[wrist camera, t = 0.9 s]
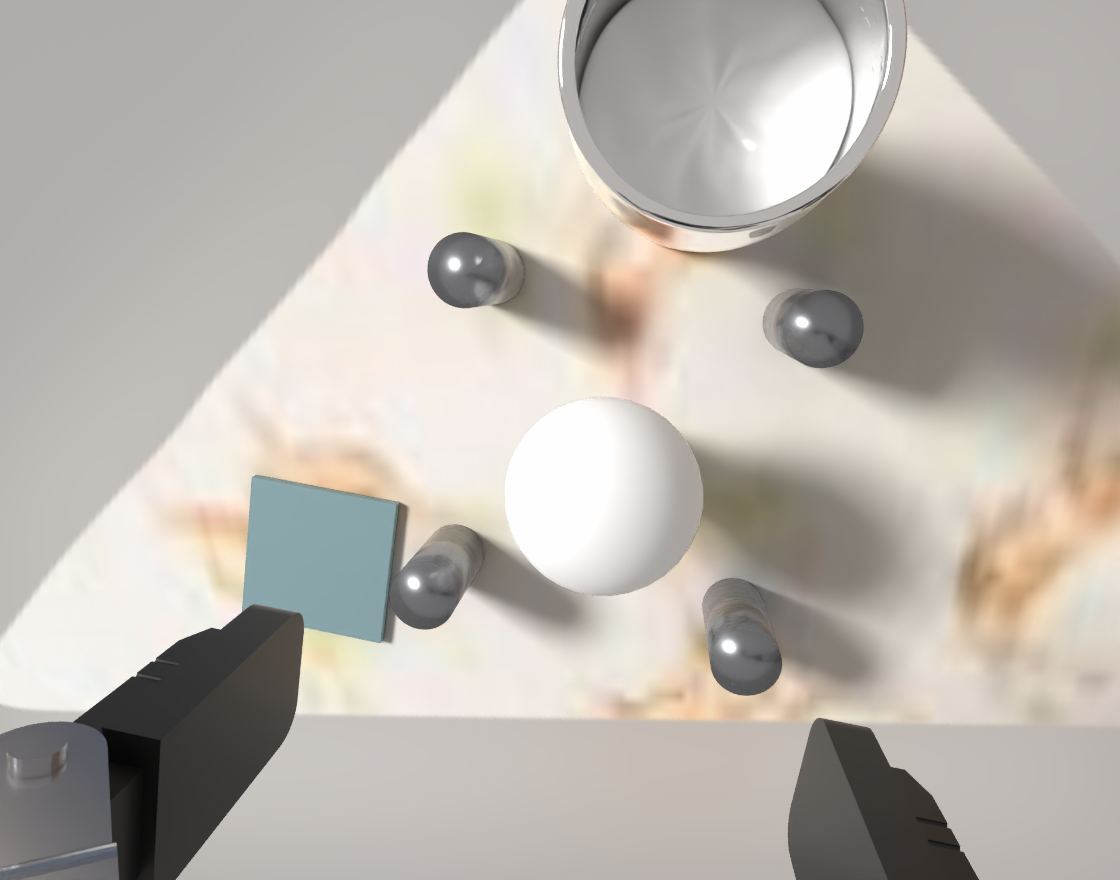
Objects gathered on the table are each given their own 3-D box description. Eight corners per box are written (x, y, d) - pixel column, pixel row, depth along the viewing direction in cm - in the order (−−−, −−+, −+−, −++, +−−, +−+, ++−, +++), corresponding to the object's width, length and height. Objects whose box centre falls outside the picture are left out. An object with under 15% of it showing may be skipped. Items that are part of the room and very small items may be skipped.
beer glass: (569, 125, 30) (485, -28, 15) (741, 33, 28) (832, -235, 14) (646, 293, 30) (637, 303, 16) (816, 211, 29) (977, 139, 14)
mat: (399, 502, 33) (396, 504, 33) (383, 639, 35) (380, 643, 34) (256, 474, 34) (251, 477, 34) (246, 610, 35) (241, 614, 35)
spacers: (836, 294, 30) (871, 296, 25) (756, 639, 33) (773, 701, 28) (467, 235, 31) (432, 226, 26) (424, 573, 34) (385, 622, 29)
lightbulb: (518, 472, 32) (449, 566, 22) (584, 342, 31) (545, 374, 20) (647, 540, 32) (642, 667, 22) (719, 412, 31) (752, 482, 20)
